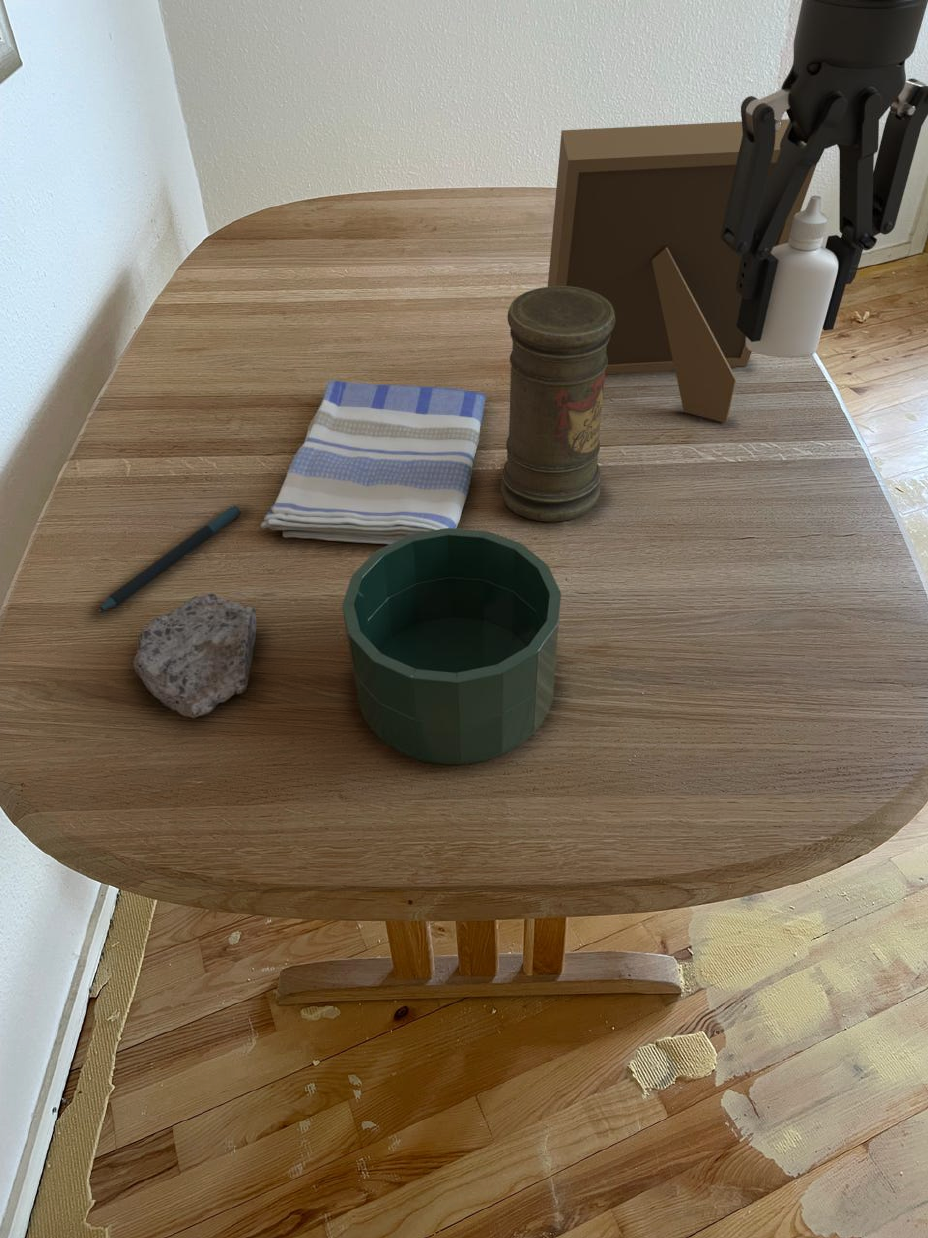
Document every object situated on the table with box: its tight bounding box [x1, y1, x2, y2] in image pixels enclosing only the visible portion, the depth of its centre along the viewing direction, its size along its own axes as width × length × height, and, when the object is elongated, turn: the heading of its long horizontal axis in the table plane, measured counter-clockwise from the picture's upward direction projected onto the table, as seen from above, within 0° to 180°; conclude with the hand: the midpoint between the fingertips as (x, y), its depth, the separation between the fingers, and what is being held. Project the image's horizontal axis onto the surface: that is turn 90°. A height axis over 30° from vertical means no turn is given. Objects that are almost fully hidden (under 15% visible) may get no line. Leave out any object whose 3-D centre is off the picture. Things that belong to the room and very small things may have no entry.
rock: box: [133, 593, 257, 719], centre depth 68 cm, size 9×11×4 cm
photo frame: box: [547, 118, 818, 423], centre depth 87 cm, size 15×22×25 cm
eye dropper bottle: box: [746, 195, 838, 359], centre depth 71 cm, size 4×6×12 cm
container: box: [500, 286, 615, 523], centre depth 77 cm, size 9×9×18 cm
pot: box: [341, 528, 562, 766], centre depth 65 cm, size 15×15×9 cm
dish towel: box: [260, 380, 487, 545], centre depth 86 cm, size 17×24×3 cm
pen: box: [98, 505, 241, 612], centre depth 78 cm, size 1×16×1 cm, turn 145°
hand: (784, 327), depth 73 cm, fingers closed on eye dropper bottle, 6 cm apart
